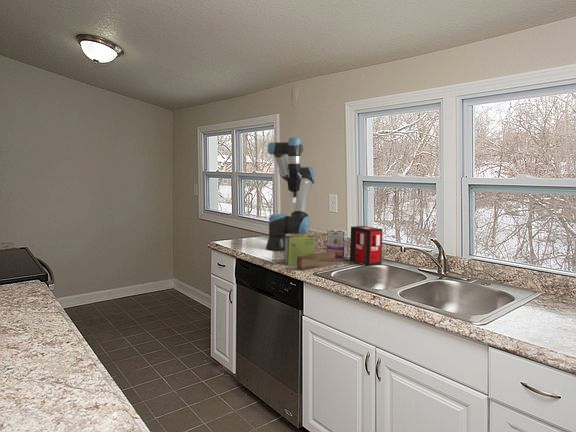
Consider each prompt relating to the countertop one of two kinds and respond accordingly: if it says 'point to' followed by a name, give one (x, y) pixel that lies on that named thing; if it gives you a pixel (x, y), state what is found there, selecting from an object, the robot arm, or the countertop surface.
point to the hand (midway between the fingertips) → (293, 202)
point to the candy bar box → (337, 242)
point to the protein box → (298, 247)
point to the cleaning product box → (366, 245)
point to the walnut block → (315, 260)
